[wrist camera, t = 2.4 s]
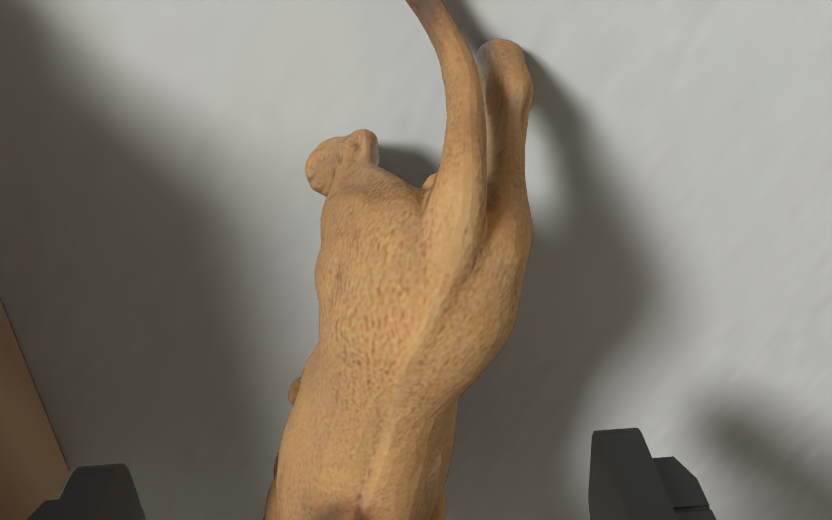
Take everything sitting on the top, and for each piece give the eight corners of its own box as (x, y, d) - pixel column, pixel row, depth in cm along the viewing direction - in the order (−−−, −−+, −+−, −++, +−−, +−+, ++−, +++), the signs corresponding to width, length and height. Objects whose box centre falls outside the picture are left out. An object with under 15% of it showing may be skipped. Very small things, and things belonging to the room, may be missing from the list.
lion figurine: (483, 508, 21) (526, 907, 13) (289, 505, 21) (219, 905, 13) (544, -67, 14) (717, 67, 6) (251, -77, 14) (51, 45, 6)
